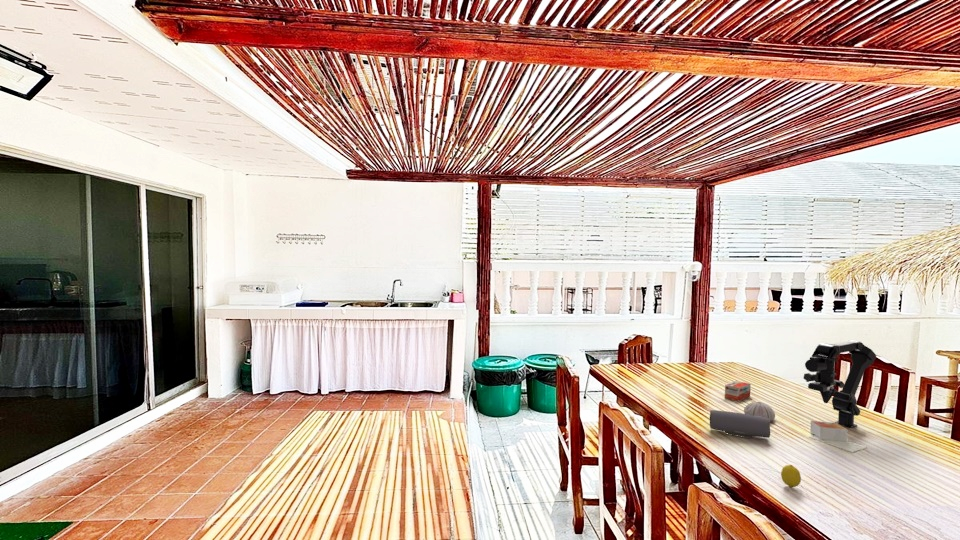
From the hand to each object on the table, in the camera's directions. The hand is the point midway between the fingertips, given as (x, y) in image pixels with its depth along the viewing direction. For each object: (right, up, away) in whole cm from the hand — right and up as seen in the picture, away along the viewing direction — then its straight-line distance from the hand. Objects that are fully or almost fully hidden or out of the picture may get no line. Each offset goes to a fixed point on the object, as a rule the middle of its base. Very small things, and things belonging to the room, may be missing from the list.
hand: (825, 403), depth 199 cm
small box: (-2, -9, -12) cm, 15 cm away
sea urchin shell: (-24, -12, +12) cm, 29 cm away
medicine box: (-15, -11, +44) cm, 48 cm away
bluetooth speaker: (-47, -12, -9) cm, 50 cm away
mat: (-8, -12, -16) cm, 22 cm away
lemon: (-56, -13, -53) cm, 79 cm away
